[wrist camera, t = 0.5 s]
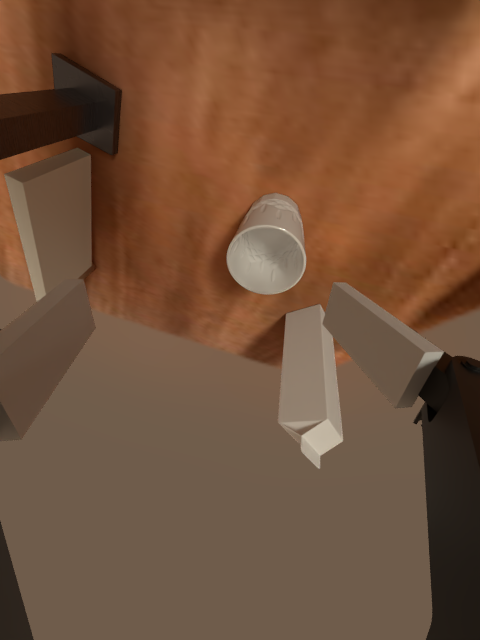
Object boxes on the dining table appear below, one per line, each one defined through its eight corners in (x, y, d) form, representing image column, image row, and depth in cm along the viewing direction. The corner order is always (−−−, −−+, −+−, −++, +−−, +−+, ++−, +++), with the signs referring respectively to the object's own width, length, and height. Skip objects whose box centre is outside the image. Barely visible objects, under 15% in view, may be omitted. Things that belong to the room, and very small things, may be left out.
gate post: (60, 53, 24) (-106, 45, 14) (121, 90, 25) (6, 105, 15) (65, 124, 28) (-60, 155, 18) (117, 152, 29) (25, 195, 20)
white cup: (250, 252, 35) (237, 297, 28) (236, 194, 30) (216, 232, 23) (307, 244, 33) (308, 291, 26) (303, 180, 28) (302, 218, 21)
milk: (320, 303, 40) (331, 450, 24) (332, 327, 43) (348, 470, 28) (284, 313, 42) (274, 450, 27) (298, 335, 46) (296, 469, 30)
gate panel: (78, 145, 28) (-5, 174, 21) (95, 154, 29) (21, 186, 21) (83, 266, 42) (34, 310, 34) (95, 271, 42) (49, 316, 35)
